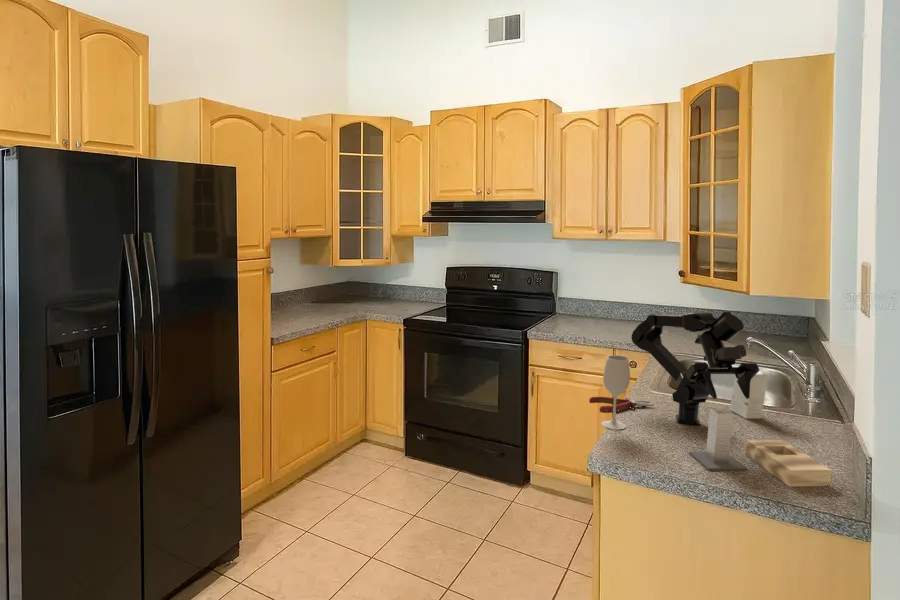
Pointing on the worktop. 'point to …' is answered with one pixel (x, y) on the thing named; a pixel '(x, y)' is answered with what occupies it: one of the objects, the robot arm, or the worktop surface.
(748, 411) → the skincare box
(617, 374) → the wineglass
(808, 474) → the wooden block with hole
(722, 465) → the rubber mat
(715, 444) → the steel bar
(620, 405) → the pliers
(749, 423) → the worktop surface
